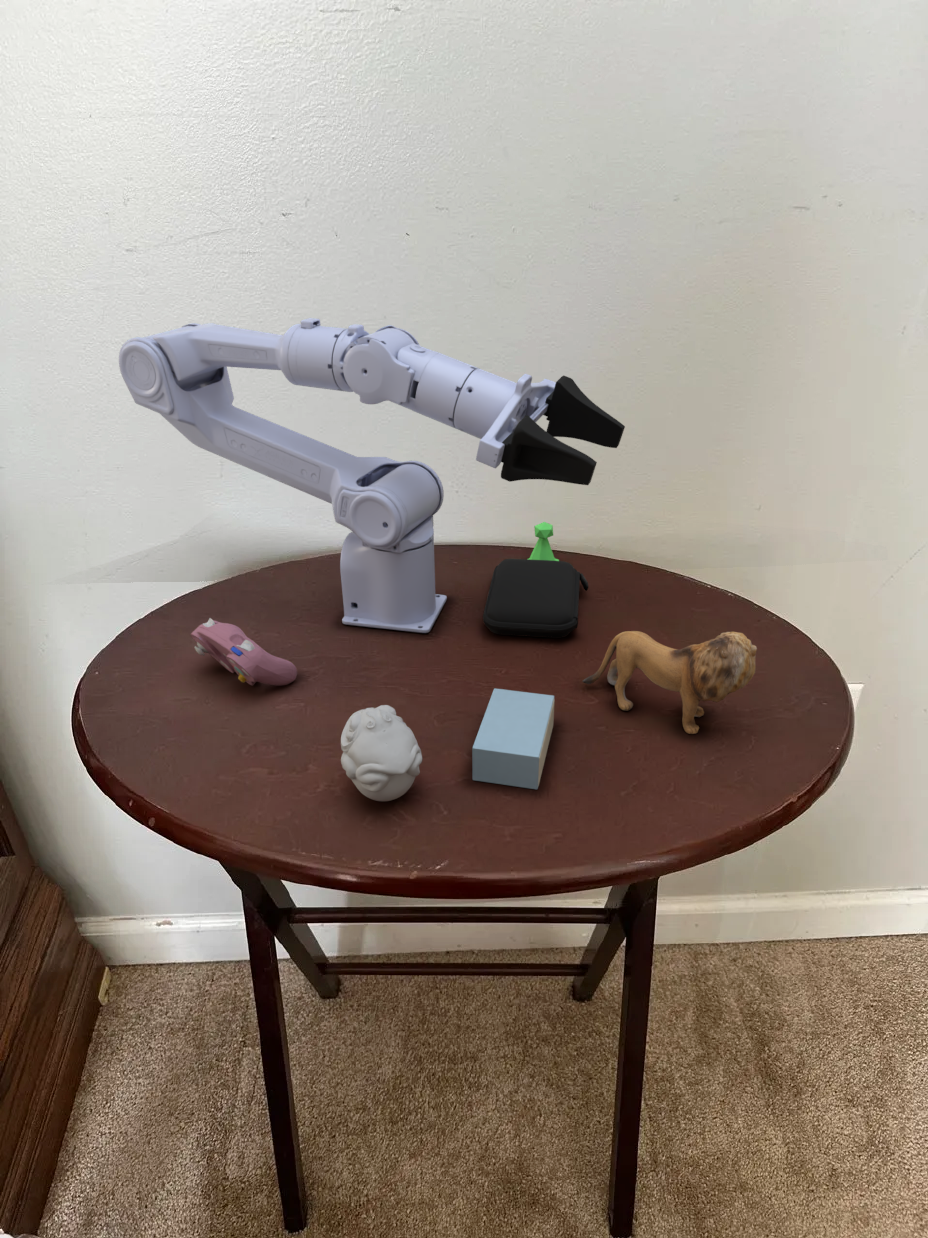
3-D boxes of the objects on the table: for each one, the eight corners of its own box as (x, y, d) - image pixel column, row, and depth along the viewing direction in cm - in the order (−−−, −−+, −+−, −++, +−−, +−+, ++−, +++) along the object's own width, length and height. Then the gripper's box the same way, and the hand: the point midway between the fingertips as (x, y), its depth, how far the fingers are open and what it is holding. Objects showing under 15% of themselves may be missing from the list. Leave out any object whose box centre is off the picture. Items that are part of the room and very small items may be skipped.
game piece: (564, 564, 102) (567, 517, 99) (555, 579, 98) (557, 531, 95) (530, 558, 103) (531, 512, 100) (519, 573, 99) (520, 526, 96)
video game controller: (212, 673, 84) (172, 630, 79) (244, 639, 86) (207, 595, 81) (272, 712, 78) (233, 668, 73) (305, 675, 80) (269, 629, 75)
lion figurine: (750, 716, 74) (767, 626, 70) (736, 749, 70) (753, 656, 66) (591, 673, 80) (598, 588, 76) (570, 702, 76) (575, 614, 72)
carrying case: (586, 646, 85) (587, 581, 97) (588, 620, 83) (589, 556, 96) (480, 640, 86) (495, 576, 99) (480, 613, 85) (495, 552, 97)
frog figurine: (396, 754, 70) (392, 683, 67) (440, 802, 65) (438, 727, 61) (329, 780, 67) (321, 708, 64) (369, 833, 62) (363, 756, 59)
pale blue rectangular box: (472, 780, 67) (472, 748, 65) (493, 718, 74) (494, 687, 73) (538, 790, 66) (539, 757, 64) (553, 726, 73) (555, 695, 72)
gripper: (438, 388, 69) (591, 449, 66) (510, 331, 79) (645, 382, 76) (426, 461, 74) (568, 522, 71) (495, 399, 84) (622, 450, 81)
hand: (607, 454), depth 74 cm, fingers open, 7 cm apart
